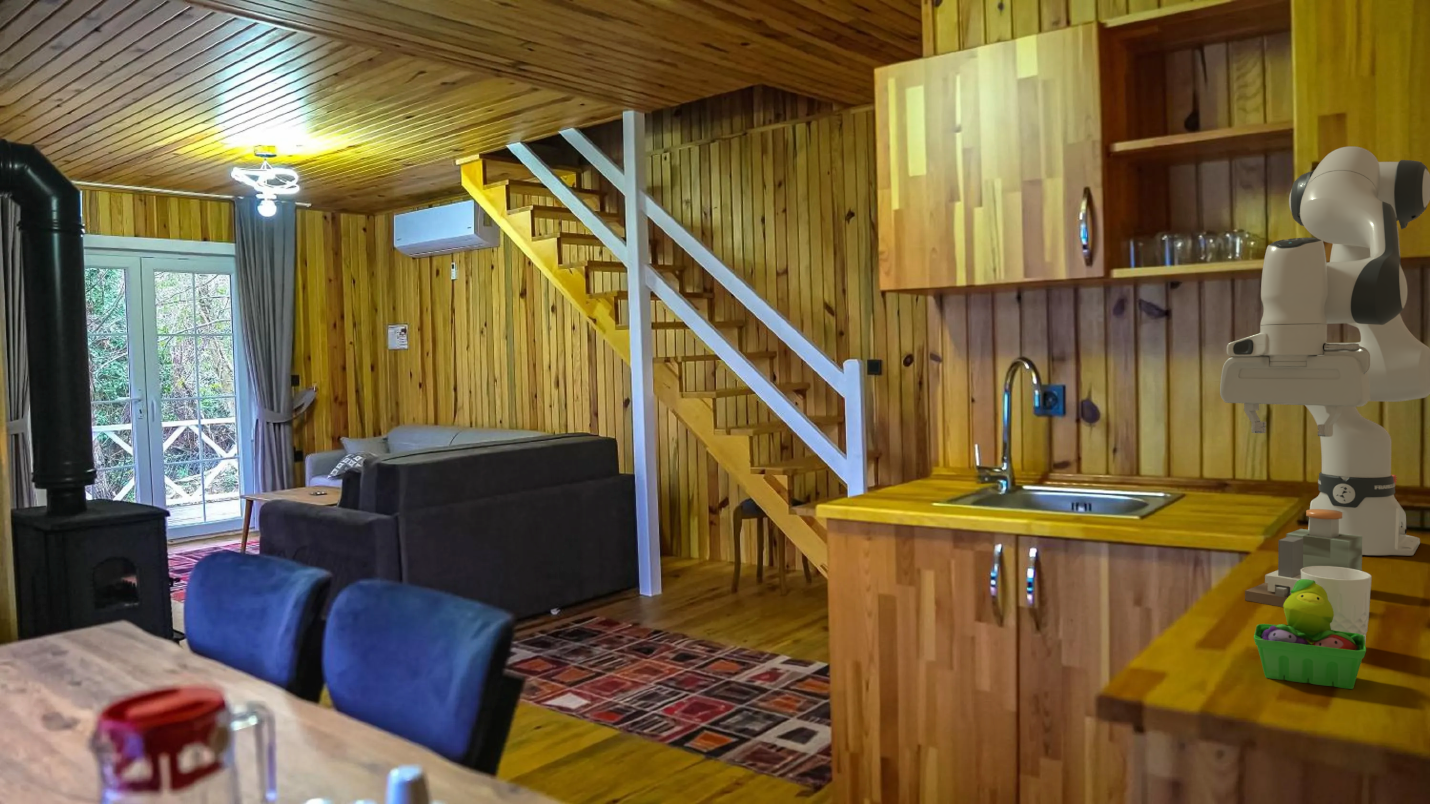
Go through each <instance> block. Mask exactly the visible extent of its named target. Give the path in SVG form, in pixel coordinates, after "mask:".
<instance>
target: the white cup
mask: <svg viewBox="0 0 1430 804" xmlns="http://www.w3.org/2000/svg"><path fill="white" fill-rule="evenodd" d="M1301 579H1309V580H1314V581H1315V582H1316V584H1318V585H1320V586H1321V587H1323V588H1324V590H1325V591H1326V593H1327V596H1328V600H1329V602H1330V603H1331V605H1332V608H1333V611H1334V617H1333V620H1332V622H1331V623H1330V627H1331V630H1334V631H1341V632H1350V633H1358V634H1361V635H1364V636H1365V643H1366V640H1367V637H1366V636H1367V632H1368V629H1369V627H1368V625H1369V620H1370V606H1371V605H1370V604H1371V603H1370V602H1371V592H1372V591H1371V589H1372V575H1371V574H1370V573H1369V572H1366V571H1363V570H1362V571H1360V570H1355V569H1350V568H1343V567H1332V566H1311V567H1305V568H1302V569H1301Z"/></svg>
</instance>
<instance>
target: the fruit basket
mask: <svg viewBox="0 0 1430 804" xmlns="http://www.w3.org/2000/svg"><path fill="white" fill-rule="evenodd" d="M1290 592H1291V595H1290V596H1289V597H1288V598H1287V599H1286V601H1285V602H1284V605H1283V612H1284V616H1285V619H1286V623H1287V624H1285V623H1282V624H1281V623H1280V624H1270V623H1259V624H1256V626H1255V631H1254V635H1253V640H1254V643H1255V645H1256V646H1257V651H1258V655H1259V657H1260V662H1261V665H1262V666H1261V667H1262V670H1263V673H1264V676H1265V678H1266V679H1273V680H1281V681H1283V680H1284V681H1288V682H1295V683H1303V684H1311V685H1317V686H1326V687H1334V688H1340V689H1345V690H1346V689H1348V690H1354V687H1355V683H1356V680H1357V677H1358V673H1359V670H1360V667H1361V664H1362V660H1363V659H1364V658H1365V655H1366V652H1367V647H1366V646H1367V645H1366V642H1365V636H1364V635H1361V634H1358V633H1350V632H1341V631H1334V630H1331V627H1330V623H1331V622H1332V620H1333V617H1334V611H1333V608H1332V605H1331V603H1330V602H1329V600H1328V596H1327V593H1326V591H1325V590H1324V588H1323V587H1321V586H1320V585H1318V584H1316V582H1315V581H1314V580H1309V579H1301V580H1298V581H1297V582H1296V583H1295V585H1294V587H1293V589H1292V590H1291V591H1290Z"/></svg>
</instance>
